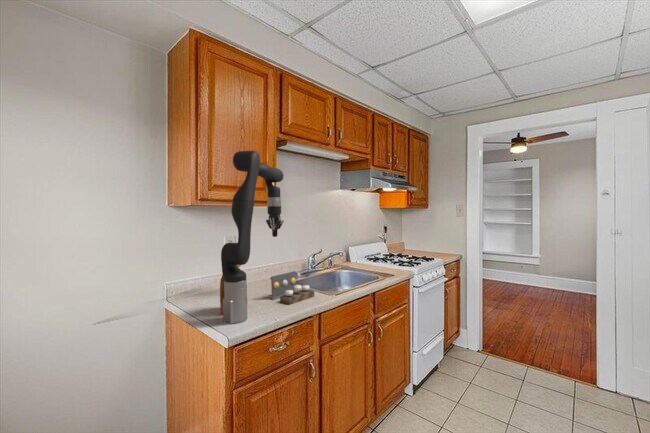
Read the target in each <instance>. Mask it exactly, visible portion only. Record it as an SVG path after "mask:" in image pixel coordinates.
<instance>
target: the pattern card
mask: <svg viewBox="0 0 650 433" xmlns="http://www.w3.org/2000/svg"><path fill="white" fill-rule="evenodd" d="M270 279H271V284H270V285H271V296H269V300H272V301H274V300H275V301H276V300H277V299H280V296H283V295H285V291H286V290H293V292H296V291H295V290H294V285H297V271H296V270H294V271H290V272H286V273H282V274H281V273H280V274H276V275H272V276H271V277H270Z"/></svg>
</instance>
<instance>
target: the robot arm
mask: <svg viewBox="0 0 650 433" xmlns="http://www.w3.org/2000/svg"><path fill="white" fill-rule="evenodd" d="M232 157H233V158H232V163H233V164H232V165H233V166H234V168H235V170H237V171H239V172H246V177H245V179H244V181H243V183H242V184H241V185H240V186H239V188H238V189H237V191H236V192H235V193H234V194H233V198H232V203H231V215H232V218H233V221H234V223H235V226H236V227H237V233H238V234H237V235H238V238H237V242H227V243H224V244H223V246H222V247H221V248H222V249H221V252H220V260H221V273H222V275H223V276H224V291H225V298H224V299H223V314H222V320H223V322H226V323H228V324H230V325H233V324H237V323H242V322H245V321H247V320H248V285H247V273H246V272H245V271H243V270H242V269H241V268H240V267H239V268H240V269H239V268H238V266H237V265H241V266H244V265H246V264H247V263H248V262H249V259H250V254H251V234H252V233H251V232H252V231H251V230H252V221H253V216H254V215H253V214H254V204H255V196H256V186H257V182H258V177H260V178H262V179H264V181H265V182H264V183H265V186H266V191H267V201H266V202H267V203H266V204H267V205H266V207H267V215H268V218H267V219H266V220H265V222H266V224H267V226H268V229H271V234H272V237H273V238H275V237H278V230H280V229H281V227H282V225H283V223H284V219H282V218H281V214H282V200H281V199H282V198H281V188H280V187H279V186H276V185H273V183H280V182H282V181H283V180H284V172H283V171H282V170H281V169H280V168H277V167H272V166H270V165H268V164H266V163H264V162H261V156H260V153H259V152H258V151H257V150H240V151H236V152H235V153H234V154H233V156H232Z"/></svg>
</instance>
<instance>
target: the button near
mask: <svg viewBox="0 0 650 433" xmlns="http://www.w3.org/2000/svg"><path fill="white" fill-rule="evenodd" d="M285 295H286V296H292V295H293V290H286V291H285Z"/></svg>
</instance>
